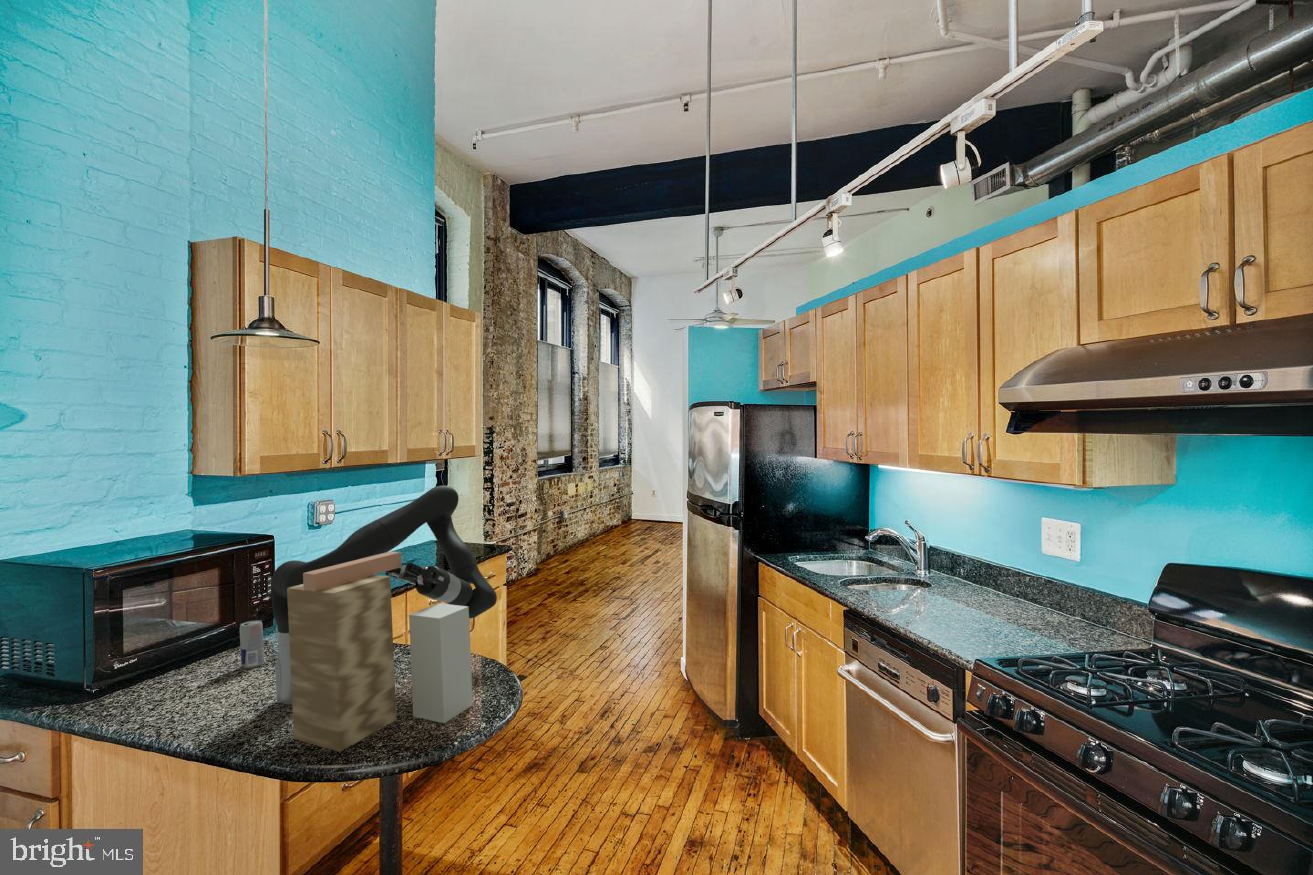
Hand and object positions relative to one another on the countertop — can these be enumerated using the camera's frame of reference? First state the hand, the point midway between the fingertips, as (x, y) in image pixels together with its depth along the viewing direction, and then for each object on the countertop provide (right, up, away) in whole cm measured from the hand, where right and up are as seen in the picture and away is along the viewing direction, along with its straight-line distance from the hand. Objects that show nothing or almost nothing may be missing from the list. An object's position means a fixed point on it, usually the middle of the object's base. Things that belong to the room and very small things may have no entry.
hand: (393, 565), depth 141 cm
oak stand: (-5, -33, -13) cm, 35 cm away
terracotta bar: (-4, -1, -9) cm, 10 cm away
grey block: (+14, -32, -6) cm, 35 cm away
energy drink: (-52, -34, +27) cm, 68 cm away
